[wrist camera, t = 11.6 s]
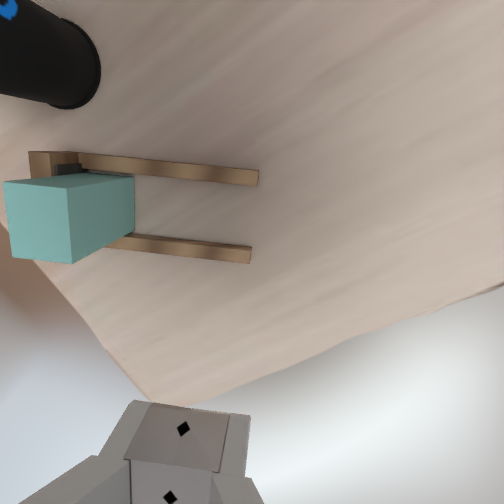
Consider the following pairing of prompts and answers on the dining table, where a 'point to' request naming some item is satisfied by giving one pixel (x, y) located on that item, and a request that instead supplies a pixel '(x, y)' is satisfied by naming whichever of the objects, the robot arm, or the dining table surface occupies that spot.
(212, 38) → the dining table surface
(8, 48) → the aerosol can
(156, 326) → the dining table surface
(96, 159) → the channel
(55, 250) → the teal rectangular block
